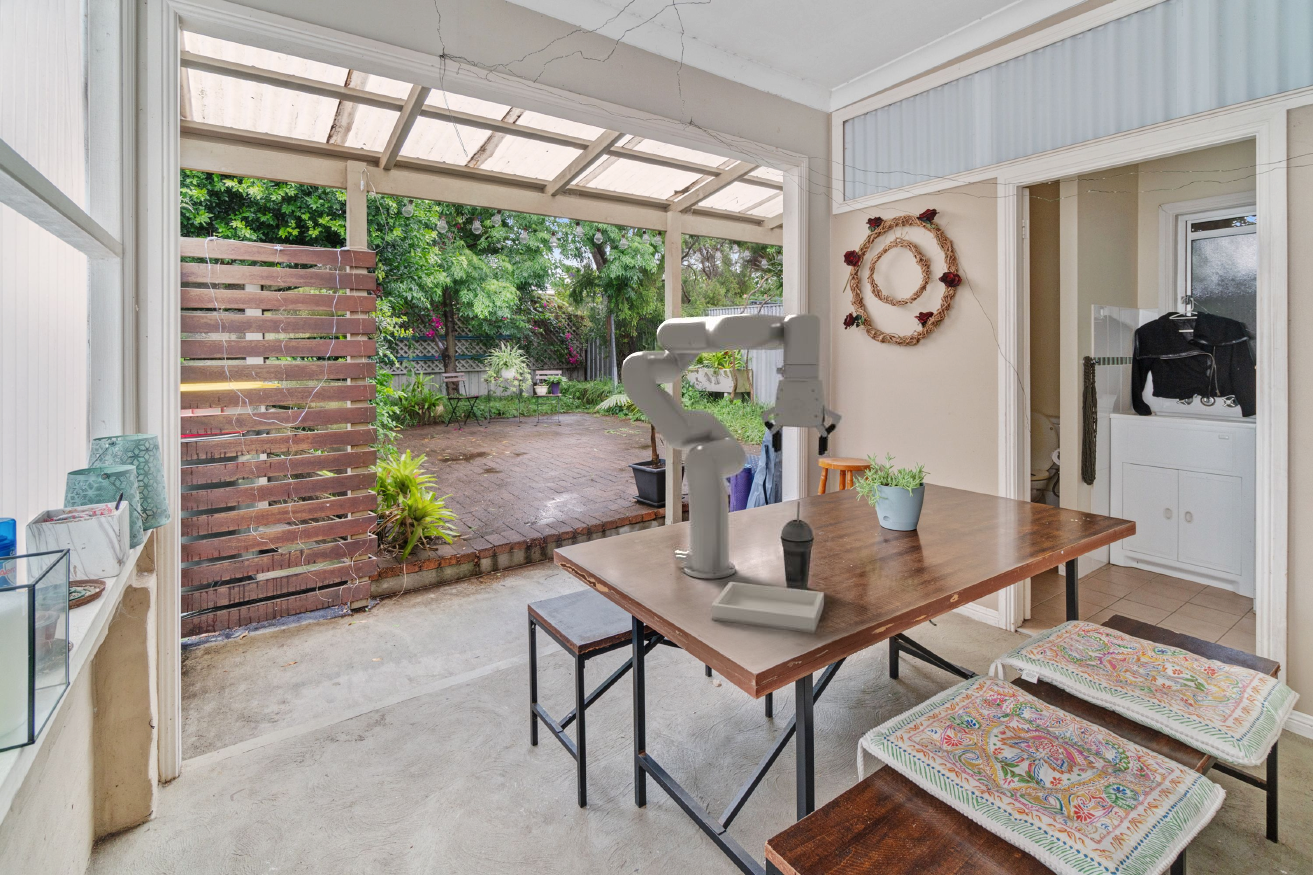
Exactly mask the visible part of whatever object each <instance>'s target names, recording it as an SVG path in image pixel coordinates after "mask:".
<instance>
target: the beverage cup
mask: <svg viewBox="0 0 1313 875" xmlns="http://www.w3.org/2000/svg"><path fill="white" fill-rule="evenodd" d="M800 503H801V502H800V501H797V507H796V519H791V520H789V521H788V522H786V524H785V525H784V526H783V527H782V530H781V535H780V539H781V541H780V542H781V545H782V551H783V552H782V553H783V563H784V566H783V567H784V575H785V583H786V588H790V589H799V590H807V589H808V584H809V578H810V577H809V576H810V567H811V566H810V565H811V557H812V556H811V555H812V554H811V553H812V548H813V544H814V540H815V538H814V533H813V530H812V527H811V526H810V524H808V523H807V521H804V520H802V519H800V508H801V507H800V506H801V504H800Z"/></svg>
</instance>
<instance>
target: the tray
mask: <svg viewBox="0 0 1313 875" xmlns="http://www.w3.org/2000/svg"><path fill="white" fill-rule="evenodd" d="M824 606H825V592H824V591H817V590H816V591H815V590H799V589H790V588H787V587H781V586H780V587H779V586H770V585H762V584H761V585H760V584H751V583H745V582H736V581H735V582H734V581H729V582H728V583H727V585H726V586H725V587H724V589H723V590H722V591H721V592H720V593H719V595H718V596H717V597H716V598H715V600H714V601H713V602H712V603H711V605H710V608H711V610H710V611H711V614H710V615H711V617H710V618H711V620H712V621H713V620H714V621H721V622H729V623H734V624H741V625H748V626H749V625H751V626H758V627H764V628H773V629H781V630H786V631H793V632H802V633H807V634H808V633H809V634H815V632H816V630H817V627H818V624H819V621H820V618H821V616H822V613H823V610H824Z"/></svg>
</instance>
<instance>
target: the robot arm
mask: <svg viewBox="0 0 1313 875" xmlns="http://www.w3.org/2000/svg"><path fill="white" fill-rule="evenodd" d="M656 331H657V332H656V339H657V340H656V341H657V343H658V345H659V346H660V347H661V348H662V349H663V350H643V351H637V352H636V351H635V352H634V353H632V354H630V355H628V356H627V357H626V358H625V360H623V364H622V366H621V372H620V373H621V376H620V377H621V384H622V387H623V390H624V392H625V394H626V396H627V397H628V399H629V400H630V401H631V403H632V404H633V405H634V406H635V407H636V408H637V410H639V411H640V412H641V413H642V414H643V415H644V416H645V418H646V419H647V420H648V421H649V422H650V424H651V425H652V426H653V427H654V429H656V431H657V432H658V433H659V435H660V436H662V438H663V439H664V440H665V441H666V442H667V444H668V445H669V446H671V448H673V449H675V450H679V451H681V450H688V452H687V453H686V456H685V457H684V464H683V465H684V466H683V467H684V473H685V478H686V484H687V491H688V511H689V512H688V513H689V516H688V519H689V520H688V521H689V550H687V551H683V550H675V551H674V555H673V556H674V558H675V561H677V562H684V565H683V572H684V573H685V574H686V575H688V576H691V577H694V578H698V579H709V580H710V579H711V580H713V579H714V580H715V579H721V578H726V577H729V576H732V575H733V574H735V572H736V565H735V564H734V563H733V562H732V561H730V553H729V552H730V546H729V545H730V543H729V542H730V540H729V539H730V536H729V534H730V530H729V529H730V528H729V526H730V524H729V519H730V518H729V511H730V510H729V496H728V492H727V491H728V490H727V488H726V485H725V483H724V479H727V478H730V477H733V476H736V475H738V474H740V473H741V472H742V471H743V470H744V468H745V467H746V463H747V455H746V450H745V449H744V447H743V445H742V444H741V442H739V440H738V439H737V438H736V437H735V436H734V435H733V433H731V431H730V430H729V429H728V428H727V427H726V426H725V425H724V424H723V423H722V421H720V420H719V419H718V418H717V417H716V416H715V414H713V413H711V412H709V411H708V410H704V409H686V407H683V406H682V405H681V404H680V403H679V401H678V400H677V399H675V397H674V396H673V395H672V394H671V393H669V392H668V391H667V390H665V389H664V388H662V387H661V386H659V385H662V384H671V383H674V382H676V381H677V380H679V379H680V378H681V377H683V376H684V374H685V373H686V372H687V371H688V370H689V368H690V367H691V366H692V365H693V364H694V363H695V362H696V360H697V359H698V358H699V357H700V356H701V354H712V353H713V354H714V353H715V354H716V353H719V352H720V351H741V350H742V351H747V350H748V351H749V350H750V351H752V350H753V351H760V350H761V351H763V350H764V351H777V350H782V353H783V355H782V358H783V359H782V365H781V366H780V367H777V368H776V371H775V372H776V375H781V378H782V379H778V381H777V382H778V383H777V385H776V386H777V388H776V395H775V399H774V400H775V403H774V406H773V407H771V408H769V409H767V410H765V411H763V412H761V413H760V417H761V420H762V422H763V424H764V427H765V428H767V430H768V431H769V432H770V434H771V448H772V449H773V453H775V454H776V453H779V452H781V451H782V433H781V430H782V429H783V427H786V428H791V427H792V428H808V429H809V428H810V429H811V428H812V429H813V428H816V430H817V432H819V433H820V436H818V451H817V452H818V454H817V455H819V456H823V455H825V454H826V452H827V451H828V450H829V449H828V446H829V436H830V435H831V433H833V431H835V430H836V429H837V428H838V425H839V424H840V422H841V421H842V418H843V416H842V414H839V413H838V412H835V411H834V410H831V408H828V407H826V401H825V390H824V384H823V380H822V379H820V359H821V358H820V356H821V355H820V353H821V352H820V350H821V347H820V346H821V319H820V317H819V316H818V315H817V314H814V313H813V314H812V313H794V314H789V315H787V316H783V315H774V314H765V313H744V314H727V315H707V316H706V315H704V316H689V317H687V316H686V317H674V318H673V317H672V318H669V319H667V320H665V321H663V322H662V323H661V324H660V325H659V327H658V329H657V330H656ZM771 415H773V419H774V420H773V421H774V423H775V424H774V423H773V422H772V421H771V418H770V416H771ZM826 416H827V417H828V418H831V419H832V421H831V423H830V424H829V425H828V426H827V425H825V422H826Z"/></svg>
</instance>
